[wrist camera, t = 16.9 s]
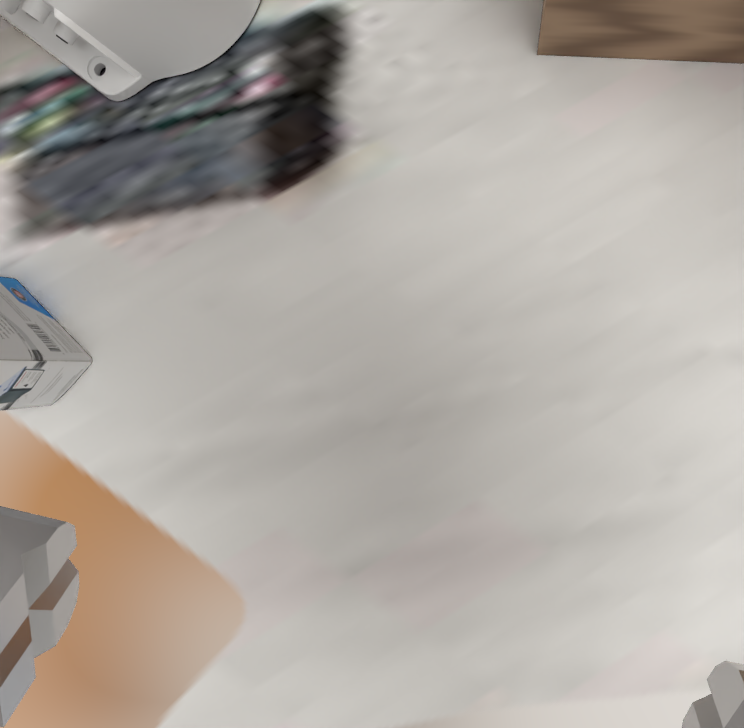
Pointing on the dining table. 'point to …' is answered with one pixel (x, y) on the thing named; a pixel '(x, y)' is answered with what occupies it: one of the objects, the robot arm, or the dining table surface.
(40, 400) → the ink box
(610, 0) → the walnut shelf
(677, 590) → the dining table surface
